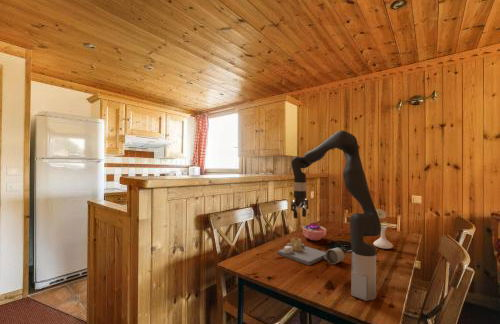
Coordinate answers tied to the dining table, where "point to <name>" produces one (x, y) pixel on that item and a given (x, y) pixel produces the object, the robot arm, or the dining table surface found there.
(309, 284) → the dining table surface
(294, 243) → the gold hollow block
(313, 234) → the cell model
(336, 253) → the ceramic mug
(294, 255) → the carrier
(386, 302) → the dining table surface
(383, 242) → the flower in vase
